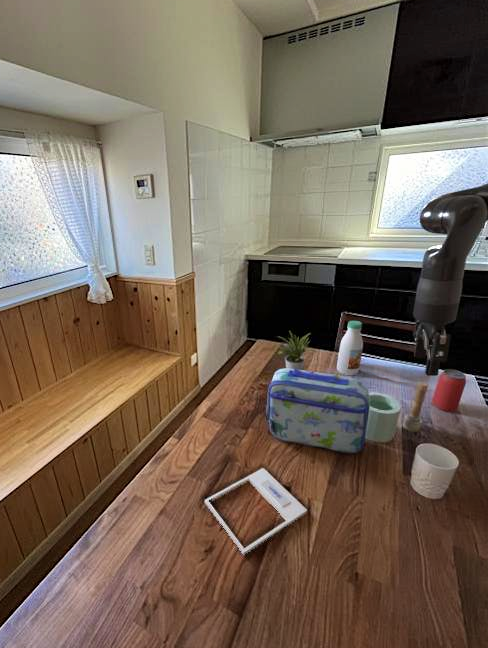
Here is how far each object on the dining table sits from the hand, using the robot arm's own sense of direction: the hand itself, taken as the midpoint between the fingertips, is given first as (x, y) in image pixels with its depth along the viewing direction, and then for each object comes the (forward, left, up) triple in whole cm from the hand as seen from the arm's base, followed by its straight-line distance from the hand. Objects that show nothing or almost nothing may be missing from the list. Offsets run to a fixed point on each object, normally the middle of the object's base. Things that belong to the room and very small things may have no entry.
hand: (424, 365), depth 77 cm
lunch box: (+21, +6, -28) cm, 36 cm away
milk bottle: (+25, -38, -28) cm, 53 cm away
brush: (0, -16, -28) cm, 32 cm away
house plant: (+41, -26, -28) cm, 56 cm away
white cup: (-7, +6, -28) cm, 30 cm away
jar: (+8, -8, -28) cm, 30 cm away
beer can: (-6, -33, -28) cm, 44 cm away
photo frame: (+22, +36, -28) cm, 51 cm away
